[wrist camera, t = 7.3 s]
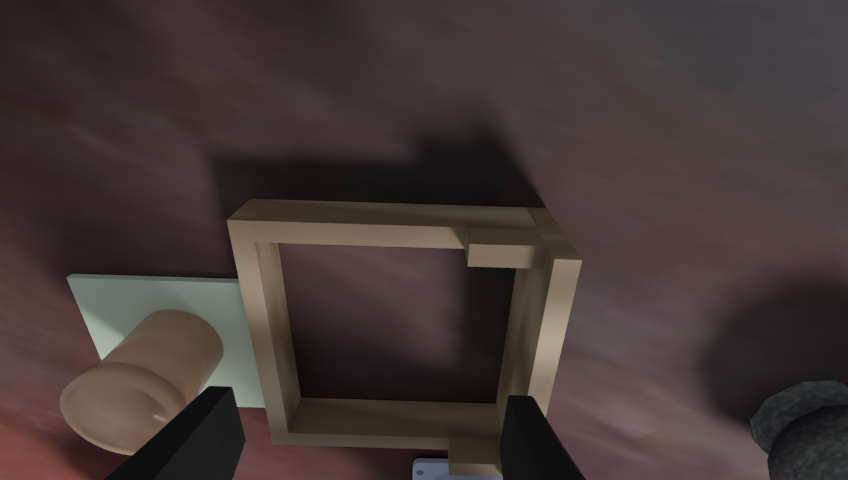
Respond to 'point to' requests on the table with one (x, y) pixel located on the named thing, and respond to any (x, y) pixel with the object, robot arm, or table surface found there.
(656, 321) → the table surface
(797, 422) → the mortar and pestle
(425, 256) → the table surface
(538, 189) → the table surface
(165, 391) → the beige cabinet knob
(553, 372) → the wooden frame
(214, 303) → the mat
